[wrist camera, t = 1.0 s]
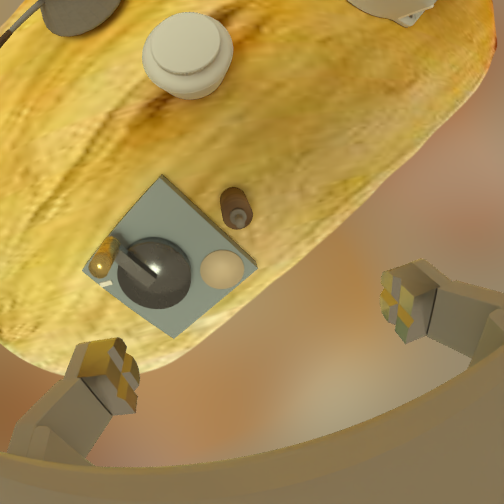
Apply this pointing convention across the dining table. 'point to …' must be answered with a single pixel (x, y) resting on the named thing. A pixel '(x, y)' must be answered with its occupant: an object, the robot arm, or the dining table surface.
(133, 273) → the dial
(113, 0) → the coffee pot
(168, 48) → the pill bottle
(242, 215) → the brown bottle
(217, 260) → the board
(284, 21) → the dining table surface
